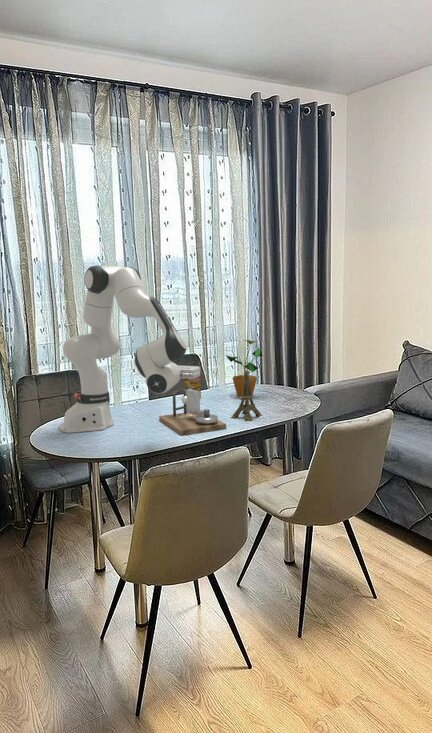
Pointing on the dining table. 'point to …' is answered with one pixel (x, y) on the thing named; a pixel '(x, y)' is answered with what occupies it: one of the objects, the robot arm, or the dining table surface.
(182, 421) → the stand
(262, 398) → the dining table surface
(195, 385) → the canned food
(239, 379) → the potted plant
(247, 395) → the eiffel tower
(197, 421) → the crank handle
